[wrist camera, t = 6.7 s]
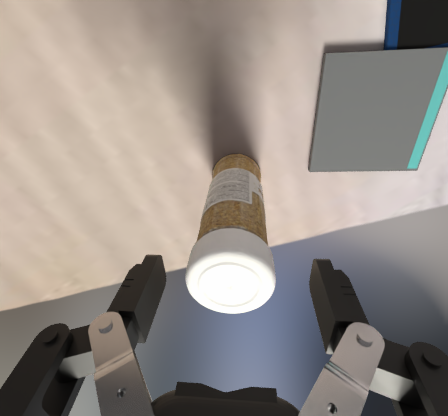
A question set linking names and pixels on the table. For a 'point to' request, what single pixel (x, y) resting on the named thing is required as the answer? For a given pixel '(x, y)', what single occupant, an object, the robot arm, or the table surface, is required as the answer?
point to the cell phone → (416, 24)
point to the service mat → (377, 109)
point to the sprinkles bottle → (232, 241)
